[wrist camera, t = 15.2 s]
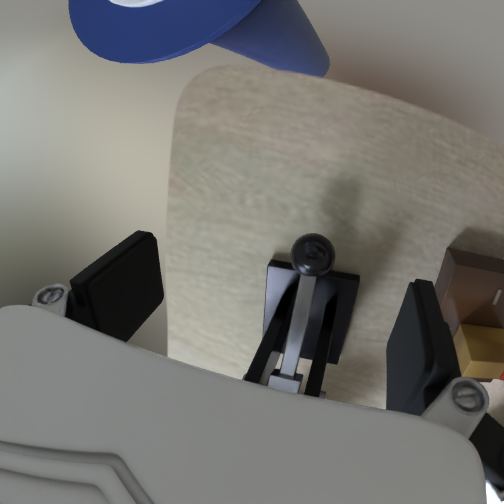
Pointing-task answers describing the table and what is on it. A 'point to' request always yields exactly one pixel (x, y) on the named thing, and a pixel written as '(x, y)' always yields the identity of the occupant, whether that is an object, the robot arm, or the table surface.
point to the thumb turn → (480, 351)
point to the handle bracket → (318, 328)
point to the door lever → (302, 304)
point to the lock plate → (471, 291)
